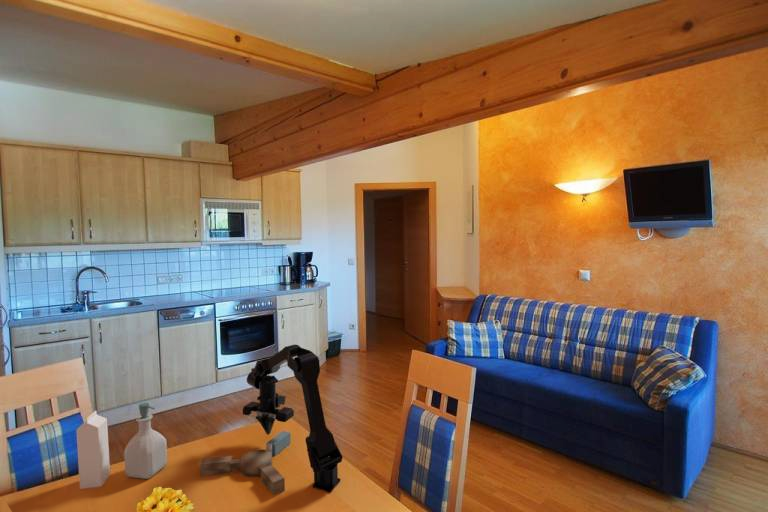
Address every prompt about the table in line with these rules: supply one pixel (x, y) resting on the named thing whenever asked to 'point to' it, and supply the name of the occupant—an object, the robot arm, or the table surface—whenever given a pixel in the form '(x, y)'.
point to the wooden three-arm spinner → (247, 468)
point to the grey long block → (278, 442)
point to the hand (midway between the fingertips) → (268, 433)
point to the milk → (93, 452)
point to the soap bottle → (145, 448)
